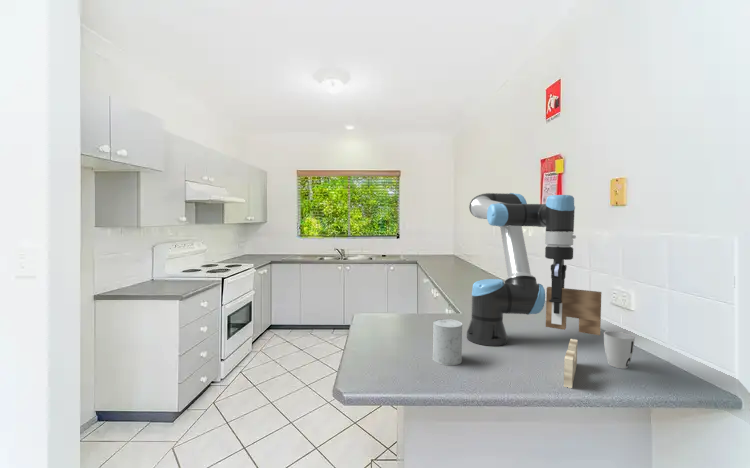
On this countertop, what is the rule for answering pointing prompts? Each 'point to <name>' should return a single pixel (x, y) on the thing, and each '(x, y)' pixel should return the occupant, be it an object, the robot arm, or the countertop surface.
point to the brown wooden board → (577, 309)
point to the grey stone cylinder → (447, 341)
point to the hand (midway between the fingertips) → (557, 322)
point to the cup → (618, 348)
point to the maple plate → (570, 363)
